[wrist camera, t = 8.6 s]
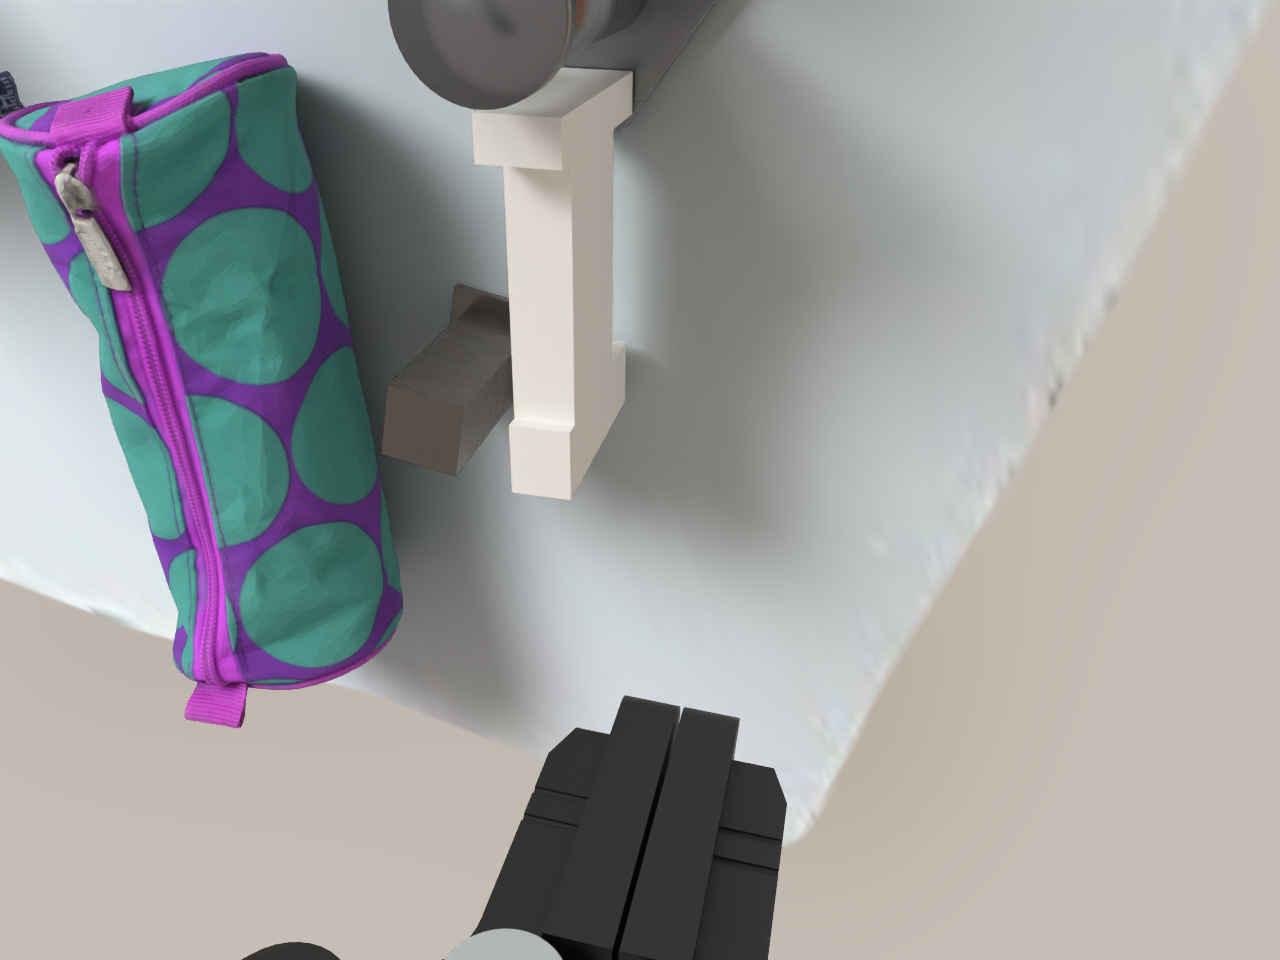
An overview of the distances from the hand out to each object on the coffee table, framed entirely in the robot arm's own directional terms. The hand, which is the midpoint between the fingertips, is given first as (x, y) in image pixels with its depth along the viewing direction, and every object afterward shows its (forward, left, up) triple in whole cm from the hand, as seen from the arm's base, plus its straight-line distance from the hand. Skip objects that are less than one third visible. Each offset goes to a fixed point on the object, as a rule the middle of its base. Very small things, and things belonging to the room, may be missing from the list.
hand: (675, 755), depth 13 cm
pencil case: (-17, -9, -23) cm, 30 cm away
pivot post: (-8, +6, -23) cm, 25 cm away
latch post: (-9, -6, -23) cm, 26 cm away
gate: (-7, -2, -22) cm, 23 cm away
